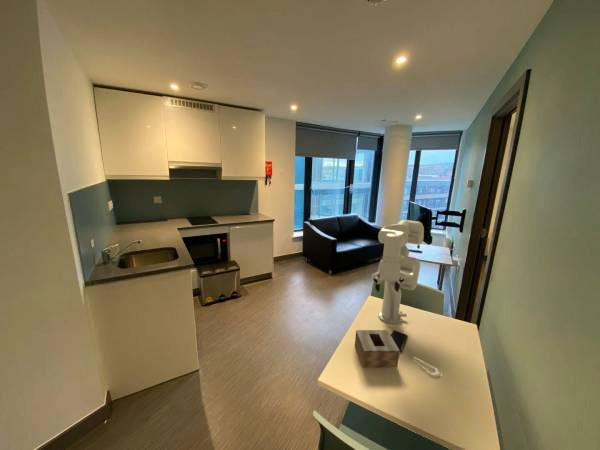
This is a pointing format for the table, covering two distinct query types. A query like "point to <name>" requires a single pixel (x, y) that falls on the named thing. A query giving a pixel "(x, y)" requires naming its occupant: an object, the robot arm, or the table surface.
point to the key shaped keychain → (428, 366)
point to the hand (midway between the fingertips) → (386, 290)
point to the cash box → (376, 349)
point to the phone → (399, 339)
